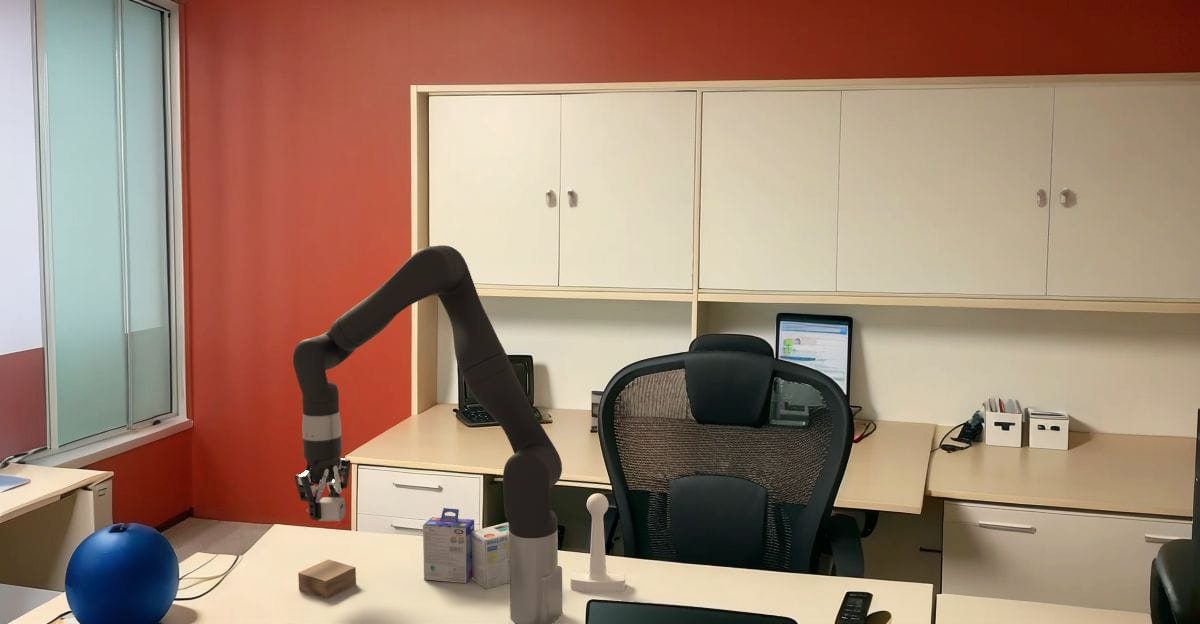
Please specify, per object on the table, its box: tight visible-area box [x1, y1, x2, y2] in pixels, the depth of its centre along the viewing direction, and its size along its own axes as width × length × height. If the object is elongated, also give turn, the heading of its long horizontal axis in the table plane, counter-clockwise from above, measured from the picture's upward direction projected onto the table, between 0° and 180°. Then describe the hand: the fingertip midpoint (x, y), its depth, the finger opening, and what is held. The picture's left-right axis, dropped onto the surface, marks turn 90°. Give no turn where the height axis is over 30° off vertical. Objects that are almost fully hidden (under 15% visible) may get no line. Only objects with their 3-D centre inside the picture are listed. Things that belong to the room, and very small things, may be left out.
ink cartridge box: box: [422, 507, 475, 584], centre depth 193 cm, size 10×6×14 cm, turn 78°
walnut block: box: [297, 559, 357, 600], centre depth 189 cm, size 8×8×4 cm
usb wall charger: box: [306, 496, 346, 522], centre depth 187 cm, size 4×7×4 cm, turn 87°
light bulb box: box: [471, 521, 510, 590], centre depth 193 cm, size 11×7×11 cm, turn 126°
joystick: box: [570, 492, 626, 594], centre depth 189 cm, size 11×8×20 cm
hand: (325, 514), depth 187 cm, fingers closed on usb wall charger, 4 cm apart
